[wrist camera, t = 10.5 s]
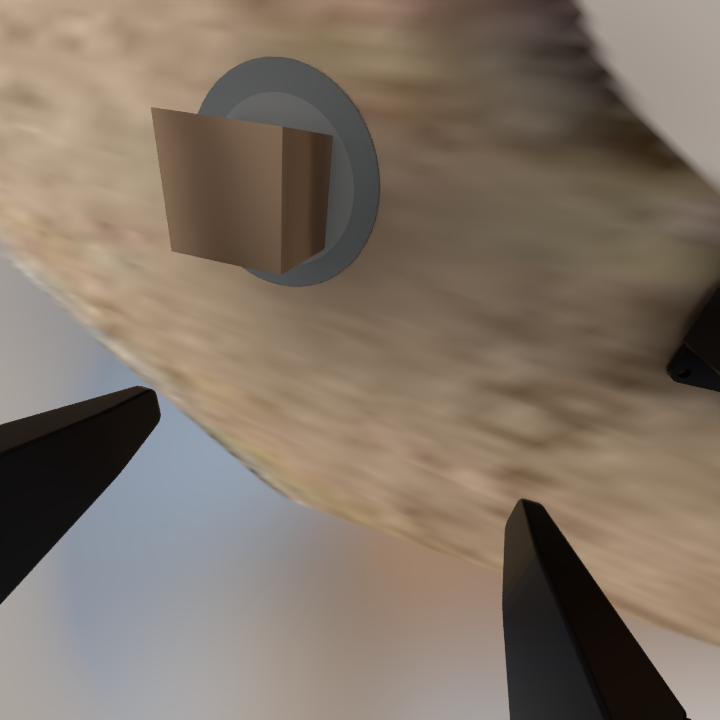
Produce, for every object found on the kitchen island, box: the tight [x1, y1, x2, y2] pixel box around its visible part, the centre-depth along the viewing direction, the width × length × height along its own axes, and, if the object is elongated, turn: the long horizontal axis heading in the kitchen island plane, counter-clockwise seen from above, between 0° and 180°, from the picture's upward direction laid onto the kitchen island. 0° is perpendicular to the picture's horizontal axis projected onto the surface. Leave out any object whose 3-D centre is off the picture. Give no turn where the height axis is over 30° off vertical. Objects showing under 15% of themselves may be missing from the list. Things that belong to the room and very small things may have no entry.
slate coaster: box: [198, 57, 379, 287], centre depth 18 cm, size 10×10×1 cm
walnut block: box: [151, 107, 333, 275], centre depth 15 cm, size 5×5×5 cm
